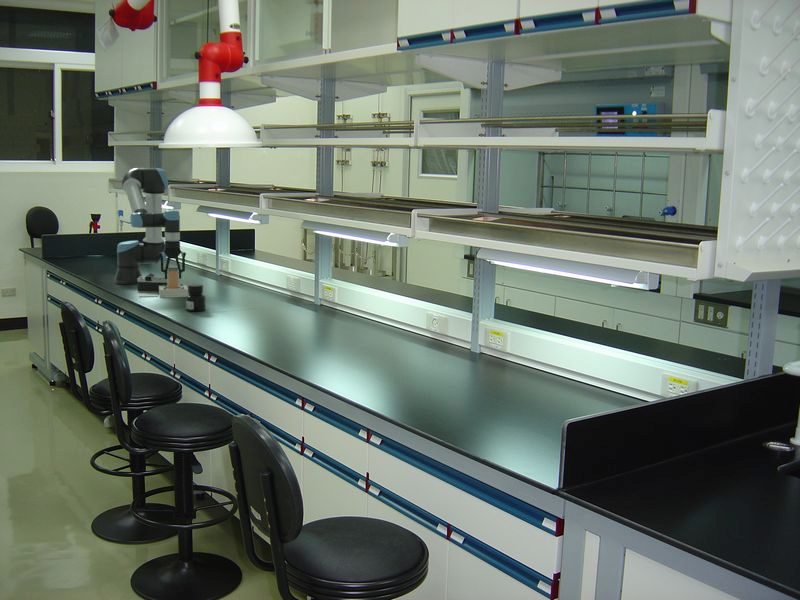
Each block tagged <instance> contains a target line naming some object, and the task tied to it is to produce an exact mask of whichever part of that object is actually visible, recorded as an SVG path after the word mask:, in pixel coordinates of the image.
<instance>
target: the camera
mask: <svg viewBox="0 0 800 600" xmlns="http://www.w3.org/2000/svg"><path fill="white" fill-rule="evenodd" d="M142 277H143V275H142V276H139V278H137V284H136V285H137V292H138V293H147V292H148V293H157V294H159V286H163V284H165V285H167V279H165V276H161V277H160V276H157V275H155V274H153V273H152V272H150V273H148V274H147V275H145V276H144V277H143V278H142Z"/></svg>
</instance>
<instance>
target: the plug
mask: <svg viewBox="0 0 800 600" xmlns="http://www.w3.org/2000/svg"><path fill="white" fill-rule="evenodd" d="M178 272H179V270H178V267H168V271H167V273H169V289H175V288H178Z"/></svg>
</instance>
